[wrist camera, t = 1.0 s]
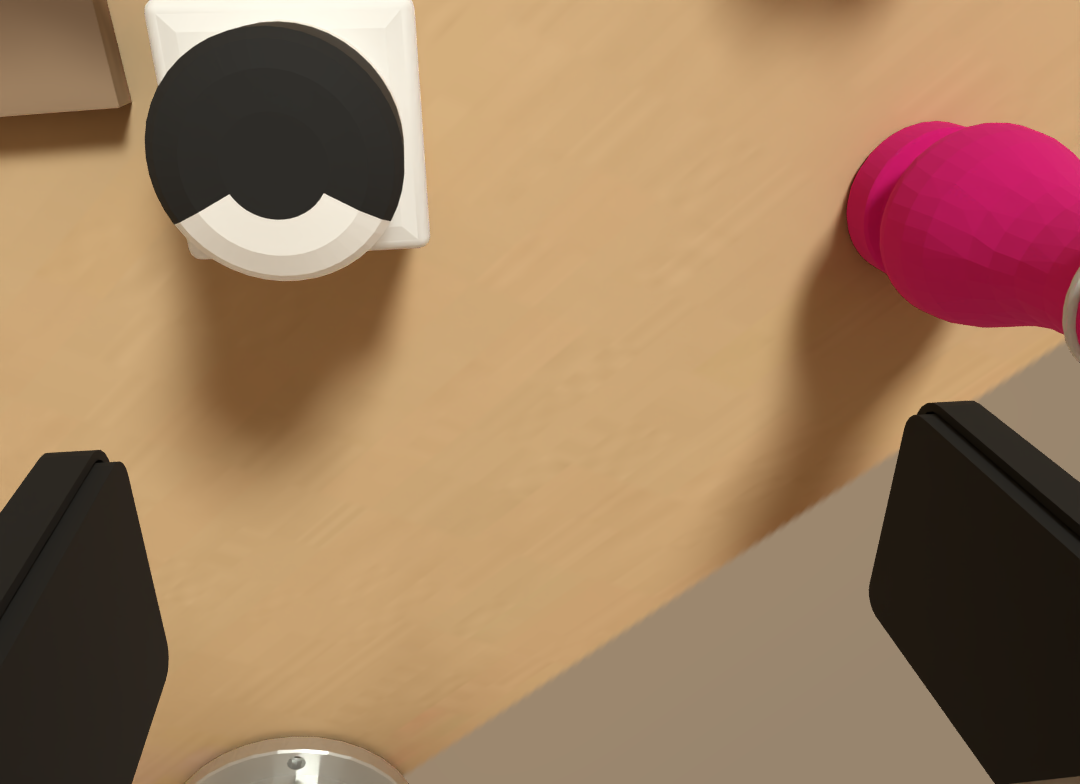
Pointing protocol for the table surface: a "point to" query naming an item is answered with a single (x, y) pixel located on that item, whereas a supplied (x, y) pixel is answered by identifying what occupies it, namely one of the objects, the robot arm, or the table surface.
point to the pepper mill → (975, 224)
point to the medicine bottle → (288, 131)
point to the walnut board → (59, 57)
